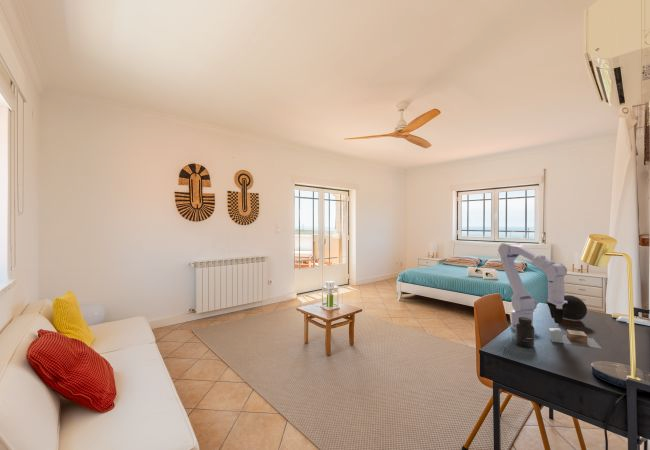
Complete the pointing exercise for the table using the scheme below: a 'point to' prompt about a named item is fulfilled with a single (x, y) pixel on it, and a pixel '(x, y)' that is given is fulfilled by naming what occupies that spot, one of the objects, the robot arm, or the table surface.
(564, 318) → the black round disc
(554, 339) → the pale grey small block
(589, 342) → the mat
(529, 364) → the table surface
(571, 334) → the walnut block
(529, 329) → the supplement bottle
